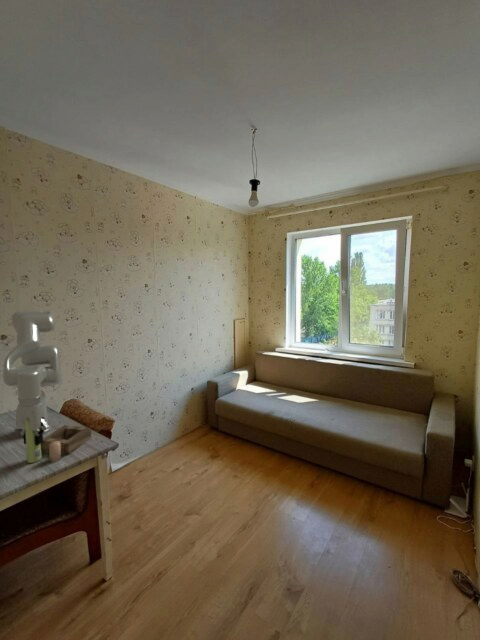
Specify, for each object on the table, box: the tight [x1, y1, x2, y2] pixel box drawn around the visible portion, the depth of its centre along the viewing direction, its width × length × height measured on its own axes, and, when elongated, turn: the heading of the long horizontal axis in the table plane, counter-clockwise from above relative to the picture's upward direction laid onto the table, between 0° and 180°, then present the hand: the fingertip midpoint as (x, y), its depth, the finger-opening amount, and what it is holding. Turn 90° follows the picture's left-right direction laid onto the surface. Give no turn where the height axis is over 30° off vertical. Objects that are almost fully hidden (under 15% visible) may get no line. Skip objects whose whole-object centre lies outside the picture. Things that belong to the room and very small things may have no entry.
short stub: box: [48, 441, 62, 463], centre depth 119 cm, size 4×4×7 cm
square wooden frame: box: [40, 424, 92, 455], centre depth 130 cm, size 14×14×5 cm
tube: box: [25, 418, 42, 464], centre depth 118 cm, size 6×5×20 cm
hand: (33, 442), depth 118 cm, fingers closed on tube, 4 cm apart
